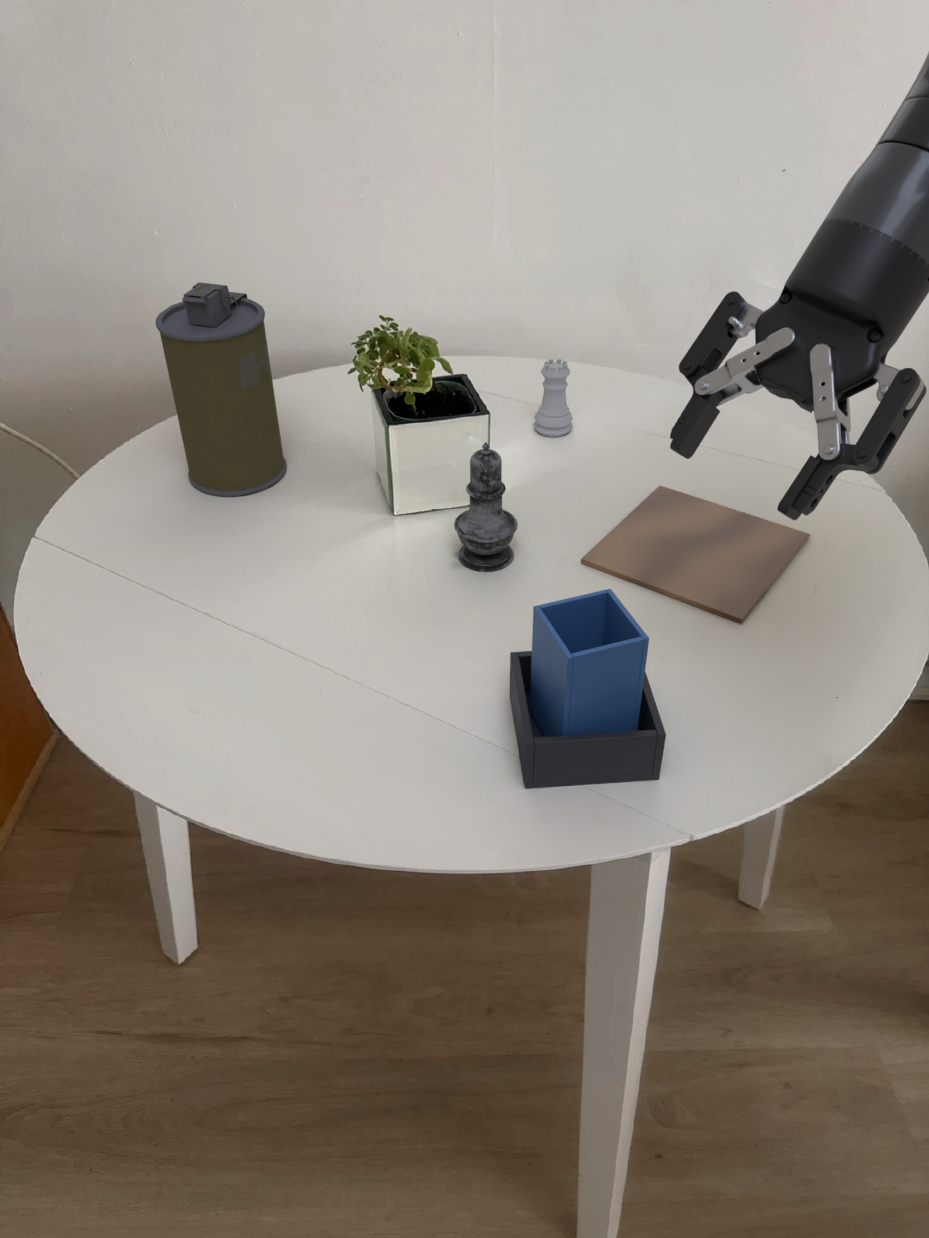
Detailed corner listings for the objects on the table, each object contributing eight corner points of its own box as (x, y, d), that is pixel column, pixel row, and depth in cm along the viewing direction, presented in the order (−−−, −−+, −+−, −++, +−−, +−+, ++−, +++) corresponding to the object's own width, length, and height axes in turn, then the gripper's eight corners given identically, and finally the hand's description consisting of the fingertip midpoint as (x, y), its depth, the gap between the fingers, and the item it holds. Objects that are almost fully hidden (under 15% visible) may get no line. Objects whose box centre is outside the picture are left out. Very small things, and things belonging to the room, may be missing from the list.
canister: (259, 503, 102) (227, 314, 90) (170, 488, 105) (127, 302, 92) (304, 453, 110) (281, 273, 98) (220, 440, 113) (187, 263, 100)
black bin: (631, 688, 80) (636, 644, 77) (659, 779, 72) (666, 734, 69) (509, 695, 79) (510, 651, 76) (524, 788, 71) (526, 743, 69)
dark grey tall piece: (446, 567, 93) (443, 454, 85) (465, 534, 97) (463, 423, 90) (507, 578, 91) (509, 463, 84) (523, 543, 96) (526, 431, 88)
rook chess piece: (579, 425, 114) (583, 360, 109) (561, 442, 111) (564, 375, 106) (545, 416, 116) (547, 351, 111) (526, 432, 113) (528, 366, 108)
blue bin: (600, 695, 78) (610, 588, 72) (635, 747, 74) (649, 638, 67) (529, 713, 77) (533, 606, 70) (560, 767, 72) (567, 658, 66)
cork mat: (809, 538, 96) (810, 533, 95) (741, 624, 86) (742, 619, 85) (659, 489, 103) (659, 485, 103) (580, 563, 93) (580, 558, 93)
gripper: (763, 183, 60) (621, 420, 64) (982, 260, 52) (806, 525, 56) (801, 237, 66) (669, 451, 70) (1003, 313, 58) (843, 550, 62)
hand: (730, 483), depth 63 cm, fingers open, 8 cm apart
